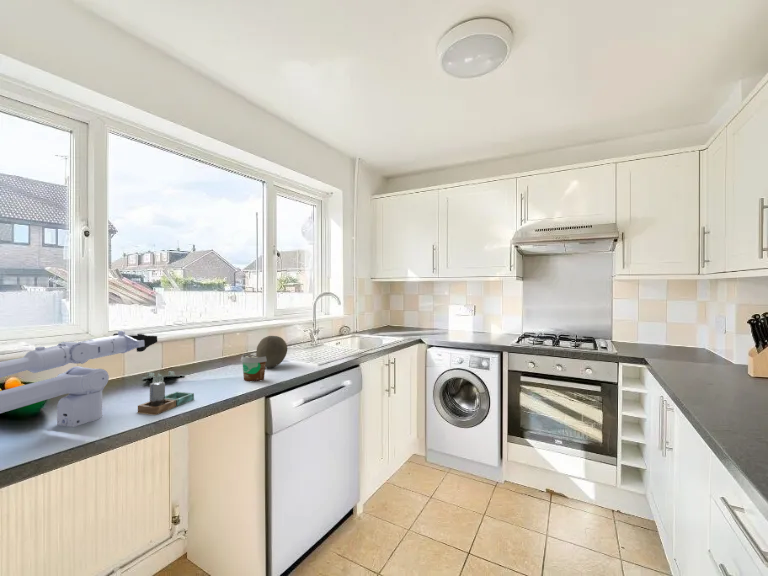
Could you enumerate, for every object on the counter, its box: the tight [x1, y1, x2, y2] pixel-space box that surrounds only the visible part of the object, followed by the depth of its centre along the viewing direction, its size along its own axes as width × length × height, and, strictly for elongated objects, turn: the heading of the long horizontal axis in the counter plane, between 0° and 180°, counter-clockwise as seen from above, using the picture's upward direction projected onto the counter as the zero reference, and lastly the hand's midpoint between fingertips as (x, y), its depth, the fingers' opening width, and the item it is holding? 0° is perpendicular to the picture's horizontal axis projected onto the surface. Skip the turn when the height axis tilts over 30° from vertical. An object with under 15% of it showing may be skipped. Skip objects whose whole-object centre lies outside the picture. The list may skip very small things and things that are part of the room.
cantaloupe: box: [255, 335, 288, 369], centre depth 172 cm, size 14×14×15 cm
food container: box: [240, 353, 267, 382], centre depth 149 cm, size 12×6×10 cm, turn 62°
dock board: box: [136, 391, 195, 416], centre depth 114 cm, size 16×7×3 cm, turn 166°
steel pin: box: [149, 381, 166, 407], centre depth 111 cm, size 4×4×8 cm
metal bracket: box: [141, 370, 185, 383], centre depth 145 cm, size 14×6×15 cm
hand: (147, 338), depth 121 cm, fingers open, 7 cm apart
